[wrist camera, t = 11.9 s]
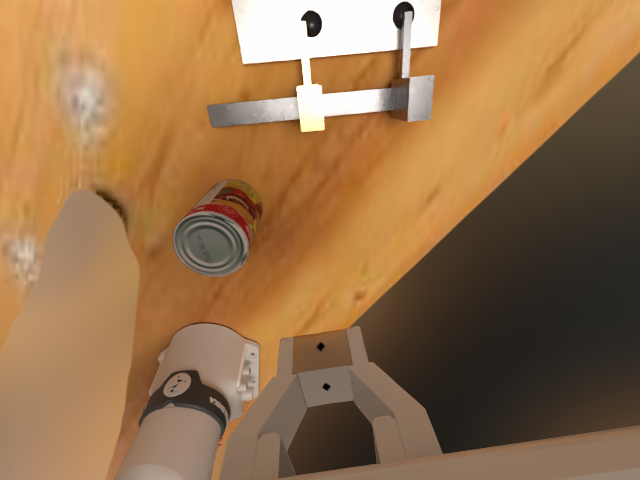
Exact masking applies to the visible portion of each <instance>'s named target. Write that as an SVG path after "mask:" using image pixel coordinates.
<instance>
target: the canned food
mask: <svg viewBox="0 0 640 480" xmlns="http://www.w3.org/2000/svg"><path fill="white" fill-rule="evenodd" d="M261 215H262V202H261V198H260V197H259V195H258V193H257V192H256V191H255V190H254V189H253V188H252V187H251V186H250V185H248V184H246V183H245V182H242V181H238V180H225V181H221V182H219V183H217V184H216V185H215V186H214V187H213V188H212V189H211V190H210V191H209V192H208V193H207V194H206V195H205V196H204V197H203V198H202V199H201V200H200V201H199V202H198V203H197V204H196V205H195V206H194V207H193V208H192V209H191V211H190V212H189V213H188V214H187V215H186V216H185V217H184V218H183V219H182V220H181V221H180V222H179V223H178V224H177V226H176V228H175V230H174V233H173V246H174V250H175V252H176V254H177V256H178V258H179V259H180V260H181V261H182V262H183V263H184V264H185V265H186V266H187V267H189V268H190V269H191V270H193V271H195V272H197V273H199V274H202V275H206V276H215V277H220V276H225V275H229V274H232V273H234V272H236V271H237V270H238V269H240V268H241V267H242V266H243V264H244V263H245V261H246V260H247V257H248V254H249V251H250V248H251V245H252V242H253V239H254V236H255V233H256V230H257V227H258V224H259V221H260V218H261Z"/></svg>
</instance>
